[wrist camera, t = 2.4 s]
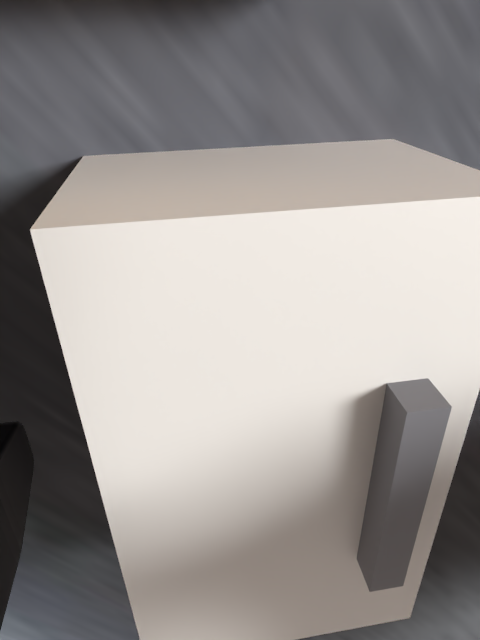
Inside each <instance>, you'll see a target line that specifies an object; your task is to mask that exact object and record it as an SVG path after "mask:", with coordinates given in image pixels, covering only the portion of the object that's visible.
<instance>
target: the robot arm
mask: <svg viewBox="0 0 480 640" xmlns="http://www.w3.org/2000/svg"><path fill="white" fill-rule="evenodd" d="M33 468H34V458H33V453H32V450H31V447H30V444H29V441H28V438H27V435H26V432H25V429H24V426H23V425H22V424H21V423H20V422H7V423H0V630H1V626H2V622H3V619H4V615H5V611H6V607H7V604H8V600H9V596H10V592H11V588H12V585H13V581H14V577H15V573H16V570H17V566H18V562H19V557H20V553H21V549H22V543H23V537H24V530H25V523H26V516H27V509H28V503H29V496H30V489H31V482H32V475H33Z"/></svg>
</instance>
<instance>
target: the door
mask: <svg viewBox="0 0 480 640" xmlns="http://www.w3.org/2000/svg"><path fill="white" fill-rule="evenodd" d="M30 232H31V236H32V239H33V243H34V247H35V251H36V254H37V258H38V262H39V265H40V269H41V273H42V277H43V280H44V284H45V288H46V292H47V295H48V299H49V303H50V306H51V310H52V314H53V318H54V321H55V325H56V329H57V332H58V336H59V340H60V344H61V347H62V351H63V355H64V359H65V362H66V366H67V370H68V373H69V377H70V381H71V385H72V388H73V392H74V396H75V399H76V403H77V407H78V411H79V414H80V418H81V422H82V426H83V429H84V433H85V437H86V440H87V444H88V448H89V452H90V455H91V459H92V463H93V466H94V470H95V474H96V478H97V481H98V485H99V489H100V493H101V496H102V500H103V504H104V507H105V511H106V515H107V519H108V522H109V526H110V530H111V533H112V537H113V541H114V545H115V548H116V552H117V556H118V560H119V563H120V567H121V571H122V574H123V578H124V582H125V586H126V589H127V593H128V597H129V601H130V604H131V608H132V612H133V615H134V619H135V623H136V627H137V630H138V634H139V638H140V640H296V639H301V638H306V637H312V636H317V635H322V634H328V633H333V632H338V631H344V630H349V629H354V628H360V627H365V626H370V625H376V624H381V623H386V622H392V621H397V620H402V619H408V618H410V616H411V613H412V609H413V606H414V603H415V600H416V596H417V593H418V590H419V586H420V583H421V580H422V577H423V573H424V570H425V567H426V563H427V560H428V557H429V554H430V550H431V547H432V544H433V540H434V537H435V534H436V531H437V527H438V524H439V521H440V517H441V514H442V511H443V508H444V504H445V501H446V498H447V494H448V491H449V488H450V485H451V481H452V478H453V475H454V471H455V468H456V465H457V462H458V458H459V455H460V452H461V448H462V445H463V442H464V439H465V435H466V432H467V429H468V425H469V422H470V419H471V416H472V412H473V409H474V406H475V402H476V399H477V396H478V393H479V389H480V170H477V169H474V168H471V167H469V166H466V165H463V164H460V163H458V162H455V161H452V160H449V159H447V158H444V157H441V156H438V155H436V154H433V153H430V152H427V151H425V150H422V149H419V148H416V147H414V146H411V145H408V144H405V143H403V142H400V141H397V140H394V139H384V140H366V141H348V142H330V143H312V144H294V145H275V146H257V147H239V148H221V149H203V150H185V151H167V152H148V153H130V154H112V155H94V156H83V157H82V159H81V160H80V161H79V163H78V164H77V165H76V167H75V168H74V170H73V171H72V172H71V174H70V175H69V176H68V178H67V179H66V181H65V182H64V183H63V185H62V186H61V187H60V189H59V190H58V192H57V193H56V194H55V196H54V197H53V198H52V200H51V201H50V202H49V204H48V205H47V207H46V208H45V209H44V211H43V212H42V213H41V215H40V216H39V218H38V219H37V220H36V222H35V223H34V224H33V226H32V227H31V229H30Z"/></svg>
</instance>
